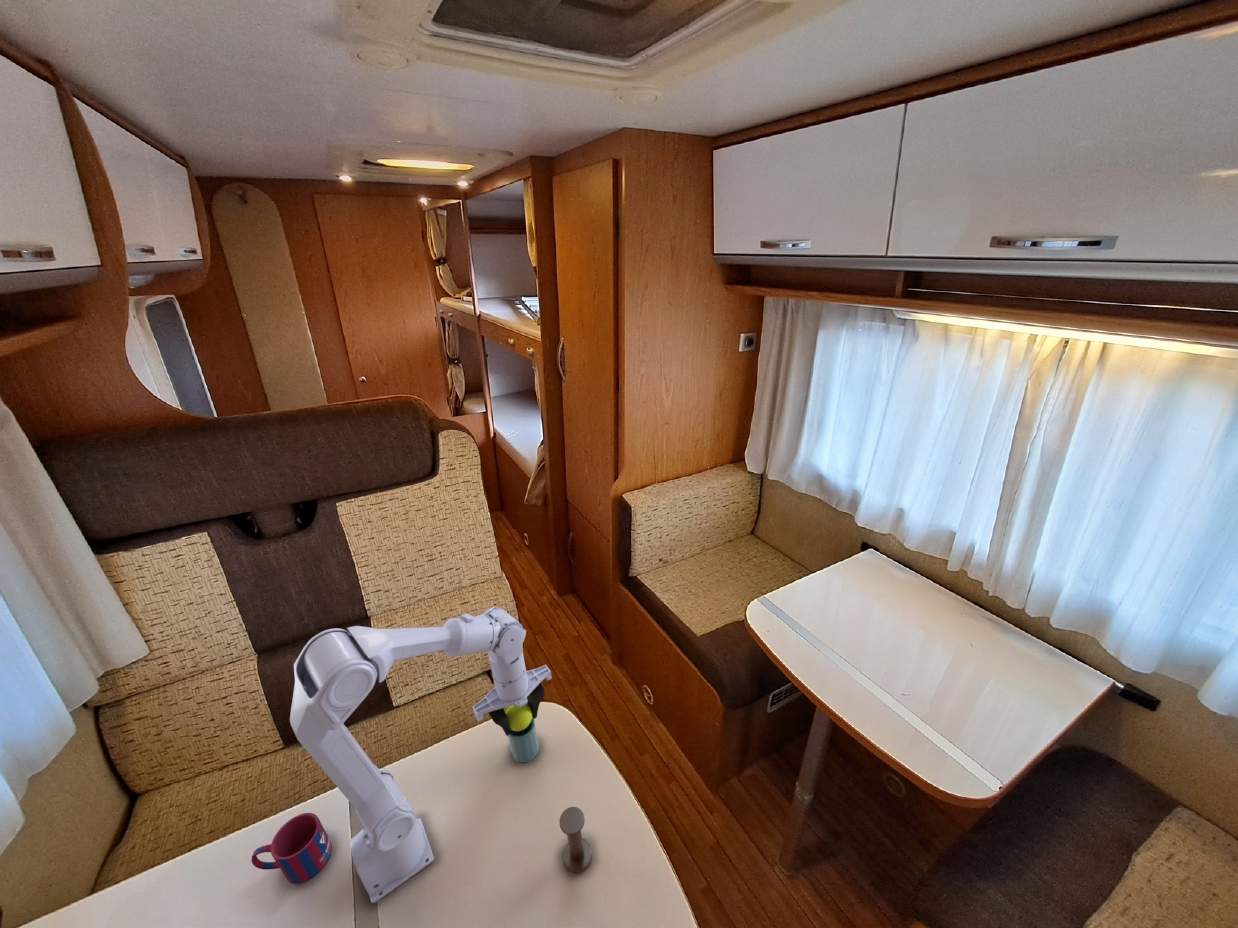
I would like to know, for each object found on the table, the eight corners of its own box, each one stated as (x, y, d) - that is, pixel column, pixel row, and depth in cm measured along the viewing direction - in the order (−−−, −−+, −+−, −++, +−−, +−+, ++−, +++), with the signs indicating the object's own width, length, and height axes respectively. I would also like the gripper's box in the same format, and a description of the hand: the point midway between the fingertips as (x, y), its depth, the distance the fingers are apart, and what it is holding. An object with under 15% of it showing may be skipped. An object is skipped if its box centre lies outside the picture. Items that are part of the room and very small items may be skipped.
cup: (324, 877, 77) (310, 853, 74) (255, 894, 75) (238, 870, 72) (337, 832, 83) (325, 807, 80) (274, 847, 81) (259, 822, 78)
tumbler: (519, 768, 91) (513, 743, 88) (507, 747, 95) (502, 723, 92) (543, 751, 94) (539, 727, 91) (531, 732, 98) (526, 708, 95)
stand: (573, 880, 75) (566, 843, 70) (558, 853, 78) (551, 816, 74) (597, 859, 77) (592, 822, 73) (582, 833, 80) (576, 797, 76)
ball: (513, 742, 88) (509, 723, 86) (502, 723, 92) (498, 704, 90) (538, 726, 91) (535, 708, 89) (526, 708, 95) (522, 690, 92)
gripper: (478, 708, 79) (492, 762, 84) (556, 663, 86) (563, 715, 92) (463, 680, 84) (477, 733, 90) (537, 640, 91) (546, 691, 97)
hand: (519, 722), depth 91 cm, fingers closed on ball, 5 cm apart
